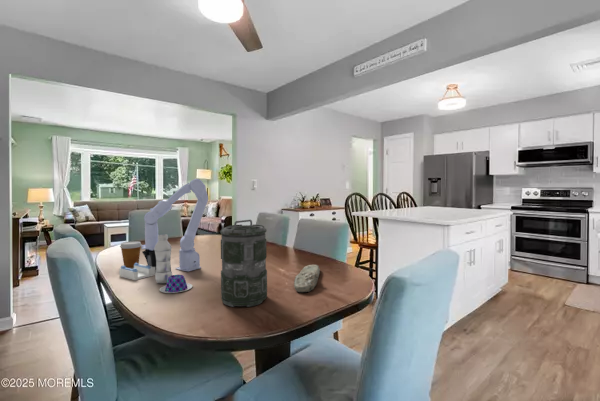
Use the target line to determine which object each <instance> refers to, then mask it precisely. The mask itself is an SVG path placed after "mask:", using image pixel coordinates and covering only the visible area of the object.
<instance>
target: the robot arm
mask: <svg viewBox="0 0 600 401" xmlns="http://www.w3.org/2000/svg"><path fill="white" fill-rule="evenodd" d="M192 192H193V194H194V195H195V197H196V200H197V201H196V204H195V205H194V210H193V212H192V214H191V217H190V220H189V222H188V224H187V228H186V230H185V232H184V235H183V236H182V237H181V238H180V240H179V247H180V249H179V250H178V253H179V254H178V257H179V258H178V259H179V267H175V270H179V271H184V272H191V271H195V270H198V269H202V266H200V265H201V264H200V261H201V259H200V256H201V255H200V254H199V252H198V251H196V249H195V238H196V235H197V231H198V228H199V225H200V223H201V221H202V217H203V215H204V213H205V210H206V206H207V203H208V201H209V196H208V191H207V189H206V185H205V183H204V182H203V181H202V180H201V179H200V178H194V179H191V180H190V182H187V183H186V184H183V185H182V186H181V187H180V188H179V189H178V190H176V191H175V192H174V193H173V194H172V195H171V196H170V197H168V198H167V199H161V200H159V201H158V202H157V204H156V205H155V206H154V207H151V208H149V211H148V212H146V213H145V215H144V216H143V220H144V244H142V245H141V247H140V250H143V251H142V254H143V256H144V257H145V261H146V263H147V264H146V265H148V260H147V255H150V257H151V263H152V267H155V266H156V255H155V250H154V248H155V245H156V244H157V242H158V235H159V226H158V224H159V223H158V220H159V218H163V217H164V216H165V215H166V214H167V213H169V211H171V210H172V209H173V208H172V207H173V204H175V203H176V202H177V201H178V200H179V199H181V197H183V196H185V194H191V193H192Z"/></svg>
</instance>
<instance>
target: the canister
mask: <svg viewBox="0 0 600 401" xmlns="http://www.w3.org/2000/svg"><path fill="white" fill-rule="evenodd" d="M249 222H250V223H249ZM238 223H249V225H248V224H245V225H243V224H238ZM219 232H220V234H221V239H220V259H221V270H220V292H221V293H220V296H221V297H220V298H221V302H222V303H223V304H224V305H225V306H228V307H231V308H235V307H246V308H250V307H255V306H259V305H260V304H262V303H263V301H264V300H266V299H267V297H268V270H267V265H266V263H267V261H266V259H267V238H266V233H267V228H266V227H265V226H264V225H262V224H253V220H252V219H245V220H236V221H235V222H234V223H233V224H232V225H231V224H230V225H227V226H226V227H223V228H221V229H220V231H219Z"/></svg>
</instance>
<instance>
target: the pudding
mask: <svg viewBox="0 0 600 401" xmlns="http://www.w3.org/2000/svg"><path fill="white" fill-rule="evenodd" d="M192 288H193V284H191V283H187V281H186V278H185V275H183V274H172V276H169V277H168V280H167V283H165V285H164V286H162V287H160V288H159V291H160V292H161V293H164V294H176V293H181V292H186V291H188V290H190V289H192Z"/></svg>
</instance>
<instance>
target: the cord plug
mask: <svg viewBox="0 0 600 401" xmlns="http://www.w3.org/2000/svg"><path fill="white" fill-rule="evenodd" d="M147 260H148V264H147V265H149V266H151V267H152V263H151V257H150V255H147ZM155 270H156V266H155Z"/></svg>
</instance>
